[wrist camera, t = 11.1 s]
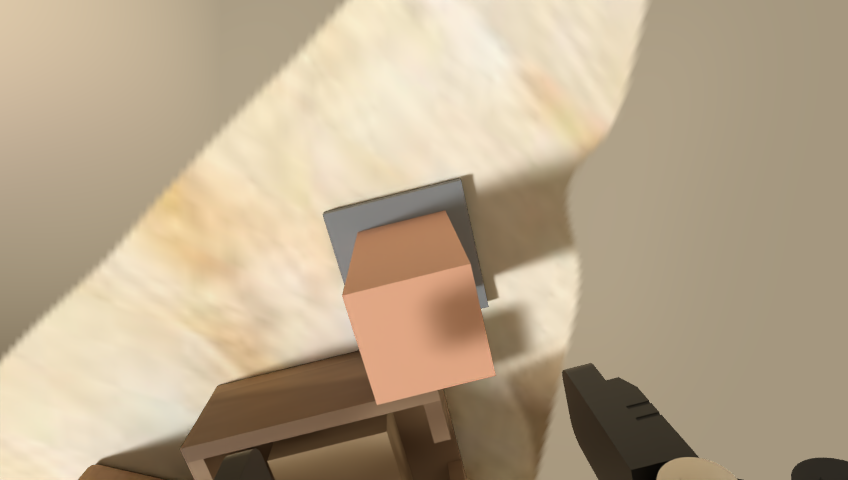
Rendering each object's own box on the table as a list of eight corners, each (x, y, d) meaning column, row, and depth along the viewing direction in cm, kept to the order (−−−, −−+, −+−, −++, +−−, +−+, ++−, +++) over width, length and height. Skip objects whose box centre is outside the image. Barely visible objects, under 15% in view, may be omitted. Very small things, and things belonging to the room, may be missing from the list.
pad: (486, 302, 26) (488, 306, 26) (361, 333, 26) (361, 338, 26) (459, 178, 24) (461, 180, 24) (324, 211, 24) (322, 214, 24)
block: (445, 210, 24) (470, 263, 16) (464, 291, 25) (495, 375, 18) (357, 232, 24) (342, 295, 16) (381, 311, 25) (376, 405, 18)
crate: (469, 488, 30) (484, 563, 25) (281, 534, 30) (260, 618, 25) (428, 333, 27) (436, 385, 22) (217, 385, 27) (179, 449, 22)
